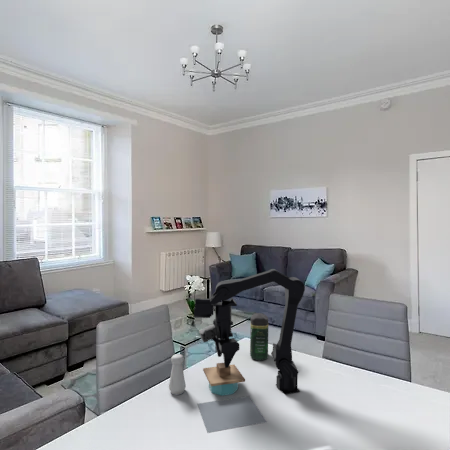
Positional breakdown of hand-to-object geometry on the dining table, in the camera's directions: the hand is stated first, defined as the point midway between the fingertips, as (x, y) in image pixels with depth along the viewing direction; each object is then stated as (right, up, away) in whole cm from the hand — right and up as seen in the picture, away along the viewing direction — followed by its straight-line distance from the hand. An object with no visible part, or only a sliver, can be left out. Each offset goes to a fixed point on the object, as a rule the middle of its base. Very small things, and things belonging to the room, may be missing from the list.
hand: (222, 361), depth 115 cm
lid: (0, -5, 0) cm, 5 cm away
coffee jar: (+16, -10, +29) cm, 34 cm away
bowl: (0, -10, 0) cm, 10 cm away
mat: (+2, -10, -15) cm, 18 cm away
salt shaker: (-16, -10, -2) cm, 19 cm away
